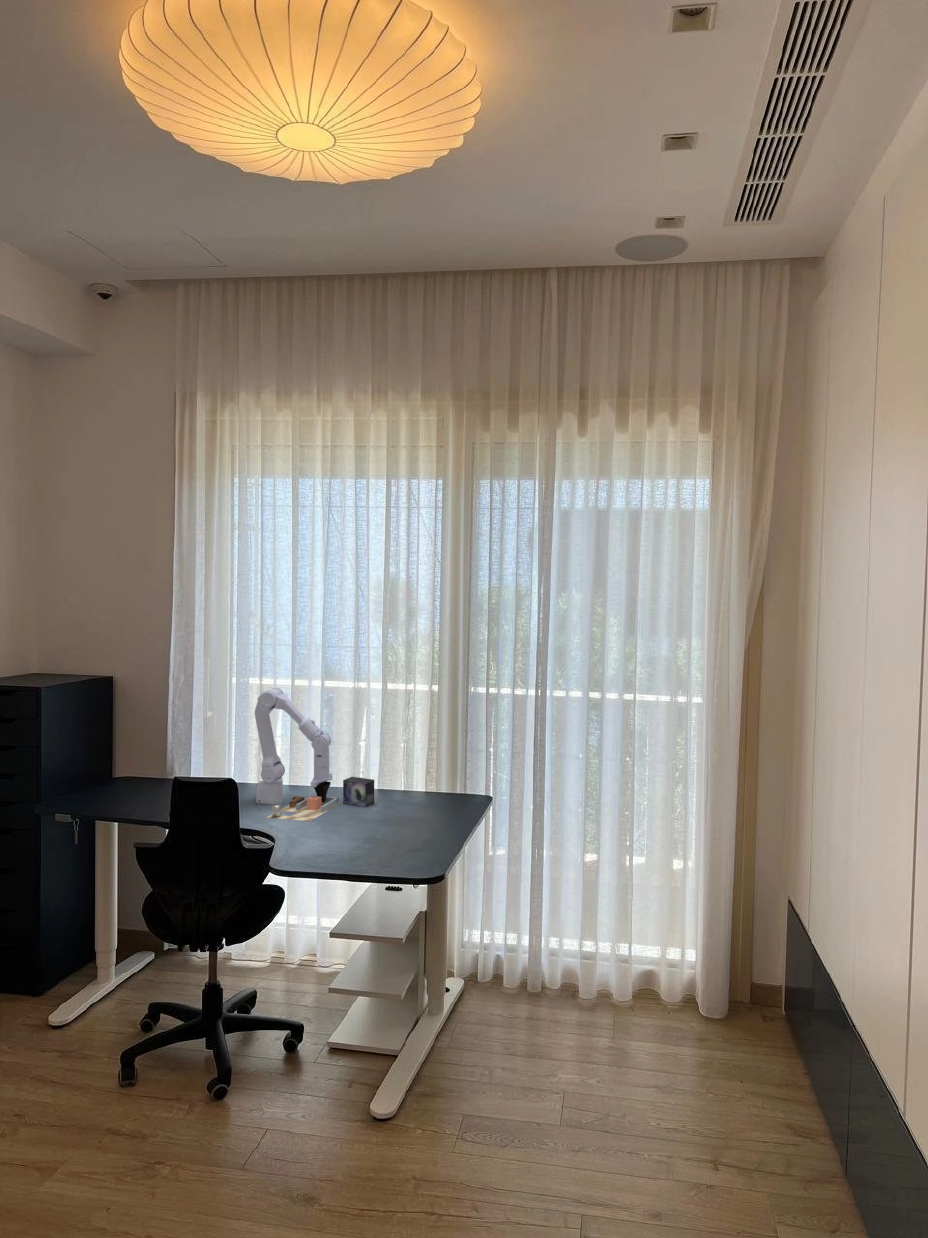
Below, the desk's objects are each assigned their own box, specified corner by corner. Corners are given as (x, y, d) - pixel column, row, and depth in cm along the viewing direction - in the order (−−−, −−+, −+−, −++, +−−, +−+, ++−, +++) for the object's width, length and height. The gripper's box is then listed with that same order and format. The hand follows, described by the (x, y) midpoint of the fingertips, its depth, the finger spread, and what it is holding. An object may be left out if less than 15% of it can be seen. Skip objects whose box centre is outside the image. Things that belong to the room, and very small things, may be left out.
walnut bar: (284, 806, 334) (284, 801, 334) (294, 801, 342) (294, 796, 342) (294, 807, 333) (294, 802, 333) (304, 802, 341) (304, 797, 341)
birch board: (266, 820, 320) (266, 817, 320) (299, 802, 345) (299, 799, 345) (309, 824, 315) (309, 821, 315) (340, 806, 340) (340, 803, 340)
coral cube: (306, 809, 331) (306, 798, 331) (311, 806, 335) (311, 796, 334) (316, 810, 330) (316, 799, 329) (321, 807, 334) (321, 796, 333)
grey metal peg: (270, 817, 320) (270, 806, 320) (274, 815, 323) (274, 804, 323) (278, 818, 319) (278, 807, 319) (282, 815, 322) (282, 804, 322)
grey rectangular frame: (295, 810, 330) (295, 804, 330) (312, 801, 343) (312, 795, 343) (323, 812, 327) (323, 807, 327) (338, 803, 340) (338, 798, 340)
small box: (342, 807, 339) (341, 779, 338) (352, 803, 344) (351, 776, 344) (365, 810, 334) (365, 782, 333) (375, 806, 340) (375, 779, 339)
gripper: (323, 770, 329) (323, 807, 330) (339, 762, 343) (339, 797, 344) (305, 769, 331) (305, 805, 332) (322, 761, 345) (322, 796, 346)
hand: (321, 801), depth 338 cm, fingers closed
